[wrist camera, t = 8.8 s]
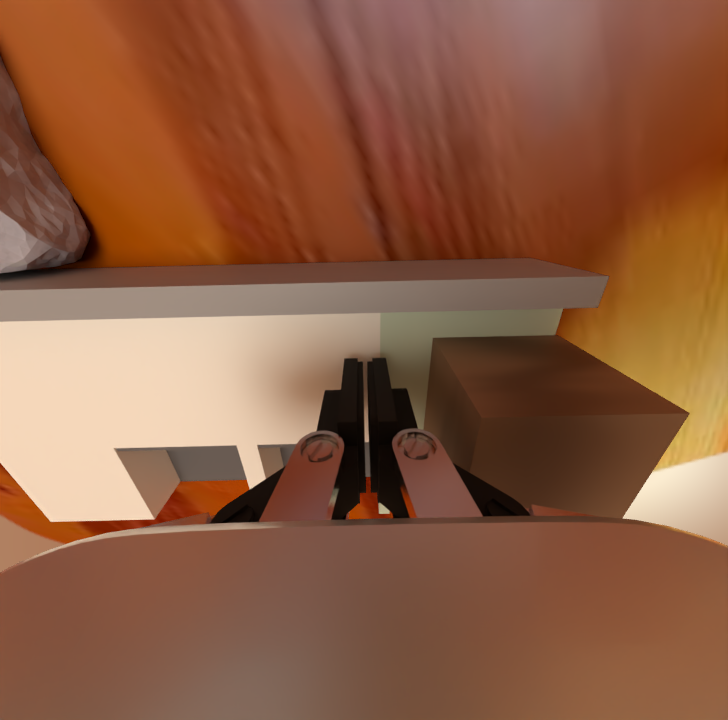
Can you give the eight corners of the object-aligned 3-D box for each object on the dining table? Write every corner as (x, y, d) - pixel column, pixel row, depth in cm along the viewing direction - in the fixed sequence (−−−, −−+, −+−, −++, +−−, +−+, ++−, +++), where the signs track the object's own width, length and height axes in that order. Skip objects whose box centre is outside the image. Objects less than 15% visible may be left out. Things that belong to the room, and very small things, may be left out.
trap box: (530, 257, 13) (609, 276, 9) (479, 469, 19) (512, 537, 15) (-43, 271, 13) (-231, 295, 9) (94, 478, 19) (22, 549, 15)
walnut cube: (557, 335, 11) (689, 413, 7) (526, 431, 13) (609, 537, 9) (432, 337, 11) (481, 417, 7) (422, 433, 13) (453, 541, 9)
